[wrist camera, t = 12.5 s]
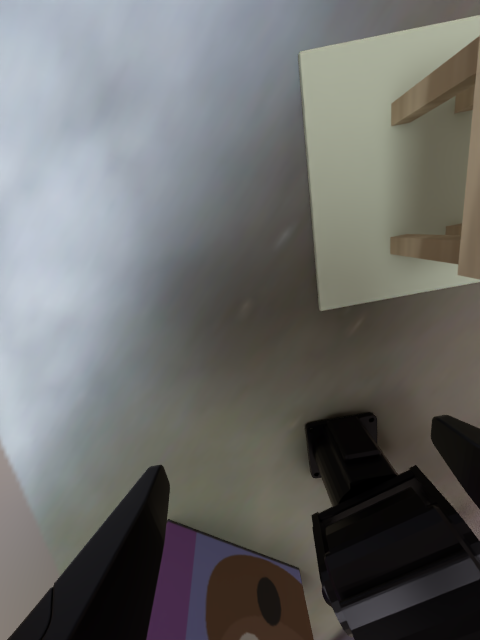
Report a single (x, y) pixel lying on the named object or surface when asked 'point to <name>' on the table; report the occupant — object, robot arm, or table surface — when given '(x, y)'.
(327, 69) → the mat
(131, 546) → the robot arm
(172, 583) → the cereal box
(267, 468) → the table surface
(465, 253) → the beige wooden bench
